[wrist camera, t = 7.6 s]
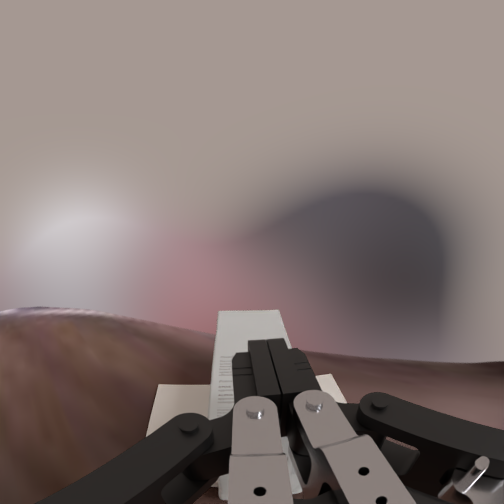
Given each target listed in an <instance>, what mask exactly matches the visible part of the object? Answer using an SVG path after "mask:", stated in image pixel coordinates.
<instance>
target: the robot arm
mask: <svg viewBox="0 0 504 504" xmlns="http://www.w3.org/2000/svg"><path fill="white" fill-rule="evenodd" d="M232 377H233V392H234V406H233V408H232V409H231V411H230V412H229V413H227V414H226V415H224V416H222V417H219V418H216V419H212V420H209V419H208V418H206V417H205V416H203V415H201V414H198V413H183V414H179V415H177V416H175V417H173V418H172V419H171V420H169V421H168V422H166V423H165V424H164V425H162V426H161V427H160V428H158V429H157V430H155V431H154V432H153V433H151V434H150V435H148V436H147V437H145V438H144V439H143V440H141V441H140V442H138V443H137V444H135V445H134V446H132V447H131V448H129V449H128V450H126V451H125V452H123V453H122V454H120V455H119V456H117V457H115V458H114V459H112V460H111V461H109V462H108V463H106V464H104V465H103V466H101V467H100V468H98V469H96V470H95V471H93V472H91V473H90V474H88V475H86V476H85V477H83V478H81V479H80V480H78V481H76V482H74V483H73V484H71V485H69V486H67V487H65V488H64V489H62V490H60V491H58V492H56V493H54V494H52V495H50V496H49V497H47V498H45V499H43V500H41V501H39V502H37V503H35V504H193V503H194V502H195V501H196V500H197V499H198V498H199V497H200V496H201V495H202V494H204V493H205V492H206V491H207V490H208V489H209V488H210V487H211V486H212V485H213V484H214V483H215V482H216V481H217V480H218V478H219V476H222V475H226V474H229V485H228V504H504V430H500V429H496V428H492V427H488V426H484V425H481V424H477V423H473V422H470V421H466V420H463V419H460V418H456V417H453V416H450V415H447V414H443V413H440V412H437V411H434V410H431V409H428V408H425V407H422V406H419V405H416V404H413V403H411V402H408V401H405V400H402V399H399V398H397V397H394V396H391V395H389V394H386V393H381V392H374V393H369V394H367V395H365V396H364V397H363V398H362V399H361V400H360V403H359V404H354V403H340V402H336V401H335V400H334V398H333V397H332V396H331V395H330V394H328V393H326V392H324V391H322V389H321V387H320V385H319V383H318V381H317V379H316V376H315V374H314V372H313V370H312V369H311V366H310V364H309V362H308V360H307V357H306V355H305V354H304V353H303V352H301V351H300V350H299V349H298V348H292V349H288V347H287V344H286V342H285V339H284V338H275V339H266V340H265V339H261V340H248V352H238V353H236V354H235V355H234V357H233V358H232ZM387 436H388V437H390V438H393V439H395V440H398V441H400V442H403V443H406V444H408V445H411V446H414V447H416V448H417V449H418V450H411V449H408V448H406V447H403V446H400V445H398V444H395V443H393V442H390V441H388V440H385V439H386V437H387ZM281 437H287V438H288V441H289V446H288V454H289V456H290V459H291V462H292V464H293V467H294V470H295V472H296V475H297V478H298V480H299V483H300V485H301V488H302V492H303V499H293V497H292V490H291V483H290V476H289V469H288V462H287V457H286V454H285V453H283V449H282V441H281Z"/></svg>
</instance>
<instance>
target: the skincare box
mask: <svg viewBox="0 0 504 504" xmlns="http://www.w3.org/2000/svg"><path fill="white" fill-rule="evenodd" d="M275 338H284V339H285V342H286V344H287V347H288V349H292V347H291V344H290V342H289V338H288V336H287V332H286V330H285V327H284V324H283V321H282V318H281V315H280V312H279V310H259V311H218V318H217V331H216V337H215V344H214V353H213V363H212V373H211V383H210V394H209V403H208V416H207V418H208V419H209V420H212V419H216V418H219V417H222V416H224V415H226V414H227V413H229V412H230V411H231V409H232V408H233V406H234V392H233V377H232V358H233V357H234V355H235V354H236V353H238V352H248V340H261V339H265V340H266V339H275ZM281 441H282V449H283V453H285V454H286V457H287V462H288V469H289V476H290V483H291V490H292V494H297V493H300V492H302V488H301V485H300V483H299V480H298V478H297V475H296V472H295V470H294V467H293V464H292V462H291V459H290V456H289V454H288V446H289V441H288V438H287V437H281ZM217 481H218V488H219V491H218V494H219V498H220V499H221V500H228V485H229V474H226V475H222V476H219V478H218V480H217Z"/></svg>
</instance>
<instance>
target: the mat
mask: <svg viewBox="0 0 504 504" xmlns="http://www.w3.org/2000/svg"><path fill="white" fill-rule="evenodd" d="M316 379H317V381H318V383H319V385H320V387H321V389H322V391H324V392H326V393H328V394H330V395H331V396H332V397H333V398H334V400H335V401H336V402H340V403H347V402H346V400H345V398H344V396H343V395H342V393H341V391H340V389H339V387H338V386H337V384H336V382H335V380H334V378H333V377H332V375H331V374H326V375H319V376H316ZM209 394H210V385H166V384H159V385H158V389H157V393H156V397H155V401H154V405H153V409H152V413H151V417H150V421H149V426H148V430H147V434H146V437H147V436H148V435H150V434H151V433H153V432H154V431H155V430H157V429H158V428H160V427H161V426H162V425H164V424H165V423H166V422H168V421H169V420H171V419H172V418H173V417H175V416H177V415H179V414H183V413H198V414H201V415H203V416H205V417H206V418H207V416H208V403H209ZM211 487H218V481H216V482H215V483H214V484H213V485H212V486H211Z"/></svg>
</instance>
